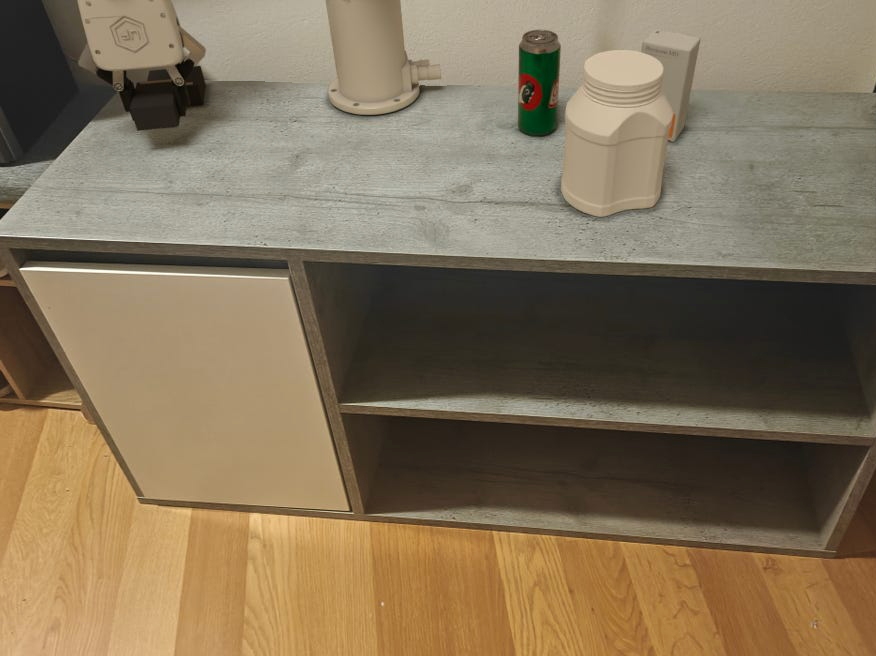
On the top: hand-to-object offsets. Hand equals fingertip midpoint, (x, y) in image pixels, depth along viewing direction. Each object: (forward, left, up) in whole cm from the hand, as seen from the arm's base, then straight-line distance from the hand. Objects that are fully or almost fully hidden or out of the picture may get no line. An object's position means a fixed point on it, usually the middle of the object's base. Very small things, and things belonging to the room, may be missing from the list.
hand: (160, 112), depth 102 cm
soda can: (-47, +7, -4) cm, 48 cm away
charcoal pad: (0, -12, -4) cm, 13 cm away
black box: (0, 0, 0) cm, 0 cm away
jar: (-52, +23, -4) cm, 57 cm away
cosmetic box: (-62, +11, -4) cm, 63 cm away
